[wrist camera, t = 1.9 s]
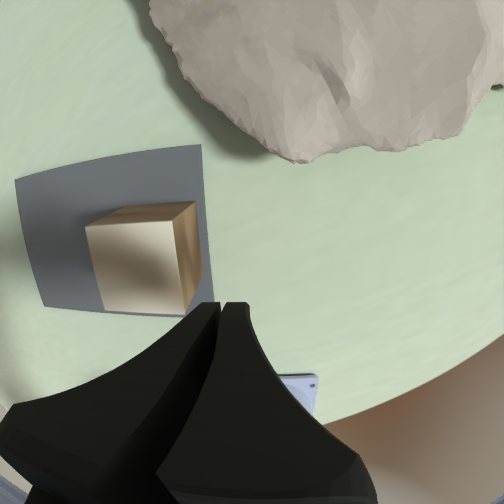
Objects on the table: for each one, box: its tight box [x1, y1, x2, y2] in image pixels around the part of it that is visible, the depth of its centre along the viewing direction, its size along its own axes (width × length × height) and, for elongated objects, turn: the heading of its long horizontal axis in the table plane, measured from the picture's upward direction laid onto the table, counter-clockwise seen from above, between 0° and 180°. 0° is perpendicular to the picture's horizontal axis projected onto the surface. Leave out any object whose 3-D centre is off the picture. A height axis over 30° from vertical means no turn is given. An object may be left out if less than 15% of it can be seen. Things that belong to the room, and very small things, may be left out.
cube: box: [85, 201, 203, 315], centre depth 16 cm, size 5×5×5 cm
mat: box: [15, 144, 214, 318], centre depth 19 cm, size 12×17×1 cm
